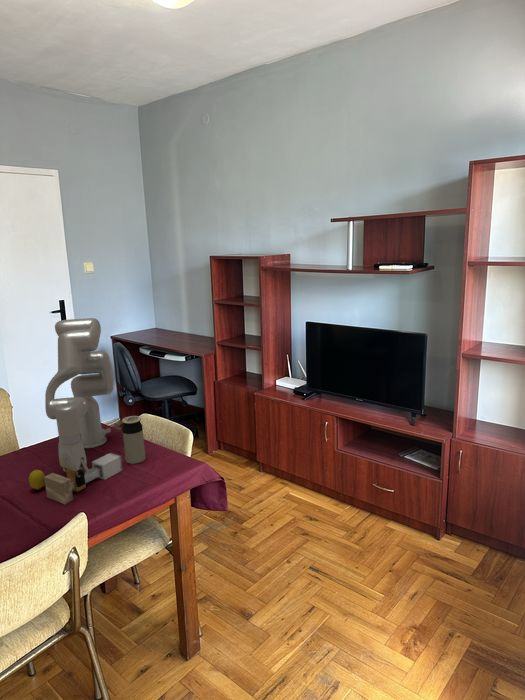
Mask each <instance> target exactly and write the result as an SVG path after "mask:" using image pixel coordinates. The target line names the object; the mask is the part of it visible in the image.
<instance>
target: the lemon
mask: <svg viewBox="0 0 525 700" xmlns="http://www.w3.org/2000/svg"><path fill="white" fill-rule="evenodd" d="M45 476H46V475H45V473H44V472H43V471H42V470H40V469H34V470H32V472H30V473H29V476H28V484H29V486H30V487H31V488H32V489H34V490H40V489H41V488H43V487H44V486H45V480H44V477H45Z"/></svg>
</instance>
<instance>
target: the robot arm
mask: <svg viewBox="0 0 525 700" xmlns="http://www.w3.org/2000/svg"><path fill="white" fill-rule="evenodd" d="M54 330H55V333H56V335H57V336H58V337H57V372H56V373H55V374H54V375H53V377H52V378H51V379H50V381H49V382H48V385H47V386H46V389H45V397H44V398H45V400H44V401H45V404H44V405H45V414H46V417H47V418H48V419H50V420H56V426H57V432H58V433H57V435H58V440H59V441H58V460H59V466H60V467H61V468H63V467H64V469H65V472H64V473H66V475H67V472H66V468H67V469H69V470H72V471H76V475H77V477H76V482H77V487H81V486H83V485H86V484H85V476H84V475H85V473H86V472H87V471H88V470H89V468H88V466H87V463H88V461H87V456H86V451H85V449H93V448H98V447H101V446H102V445H104V444H105V443H106V442H107V439H108V438H107V436H106V435H107V434H109V433H111V432H112V430H111V428H109V427H108V428H106V429H105V428H103V427H102V421H101V420H102V419H101V413H100V405H99V403H98V401H97V400H96V399H95V397H99V396H107V395H110V394H112V392H113V391H114V382H113V381H114V380H113V379H114V378H113V372H112V367H111V361H110V357H109V355H108V353H107V352H106V351H104V350H97V349H98V347H99V344H100V343H99V342H100V337H101V332H102V327H101V323H100V321H99V319H97V318H93V317H92V318H91V317H90V318H73V319H72V318H71V319H63V320H58V321H57V322H55V324H54ZM70 379H72V380H71V382H70V389H71V392H72V395H73V397H61V398H55V396H56V391H57V389H58V388H59V387H60V386H61V385H62V384H64V383H66V382H67V381H70ZM80 466H81V467H80ZM80 469H81V471H80V473H79V470H80Z"/></svg>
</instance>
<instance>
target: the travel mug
mask: <svg viewBox="0 0 525 700" xmlns="http://www.w3.org/2000/svg"><path fill="white" fill-rule="evenodd" d="M141 420H142V418H141V416H139V415H130V416H126V417H123V418H122V420H121V422H122V424H123V425H122V428H121V430H122V438H123V439H122V440H123V447H124V448H123V449H124V455H125V462H126V463H127V464H133V465H134V464H140V463H142V462H144V461H145V460H146V449H145V440H144V439H145V437H144V428H143V424H142V422H141Z"/></svg>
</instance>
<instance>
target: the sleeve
mask: <svg viewBox="0 0 525 700" xmlns="http://www.w3.org/2000/svg"><path fill="white" fill-rule="evenodd" d="M91 466H92V467H91V468H93V467H95V466H100V467H101V468H102V475H101V476H99V477H97V479H101V480H104V481H106V480H107V479H109V478H111V477H112V476H114V475H116V474H119V473H120V472H122V471H123V470H124V469H123V468H124V467H123V461H122V456H121V455H119V454H115V453H112V452H109V453H106V454H105V455H103V456H101V457H98V458H97V459H94V460H93V461H91Z"/></svg>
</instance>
